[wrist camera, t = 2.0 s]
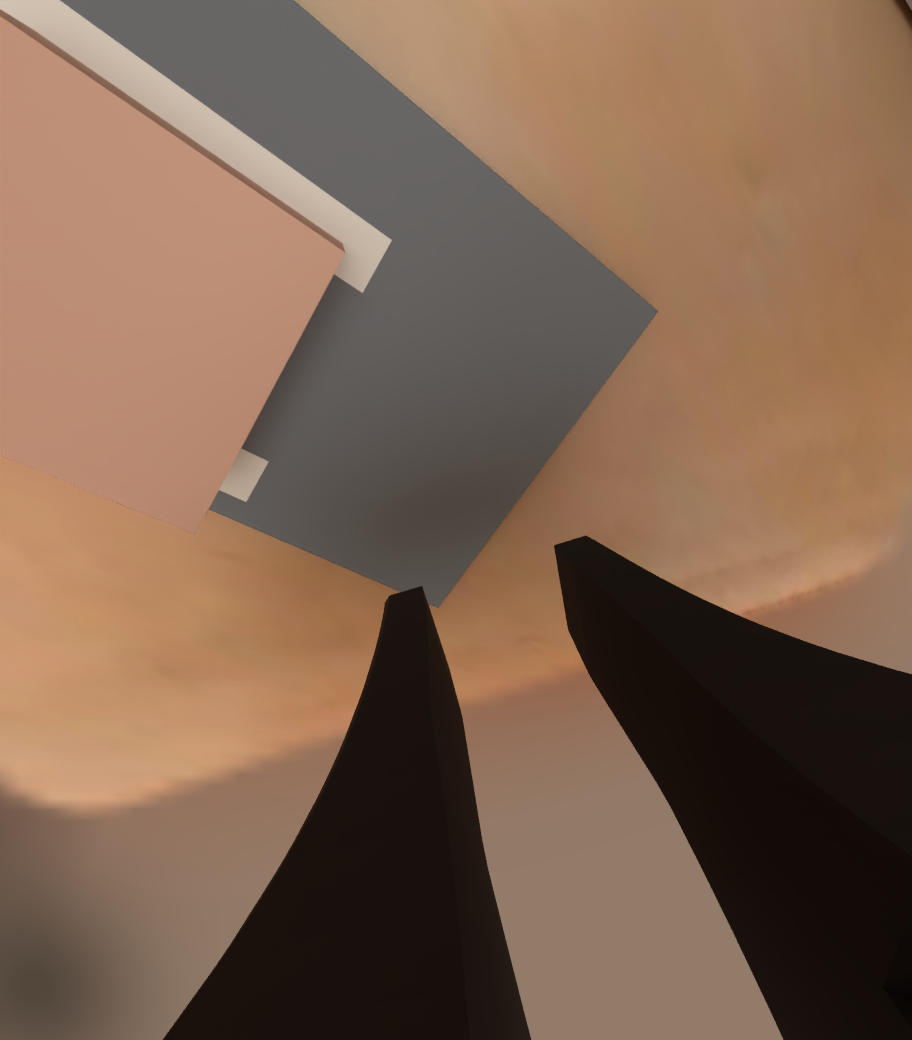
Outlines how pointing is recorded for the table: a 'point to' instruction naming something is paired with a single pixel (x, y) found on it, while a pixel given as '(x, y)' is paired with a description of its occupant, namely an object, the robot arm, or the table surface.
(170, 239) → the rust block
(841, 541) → the table surface
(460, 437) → the letter mat
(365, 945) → the robot arm
